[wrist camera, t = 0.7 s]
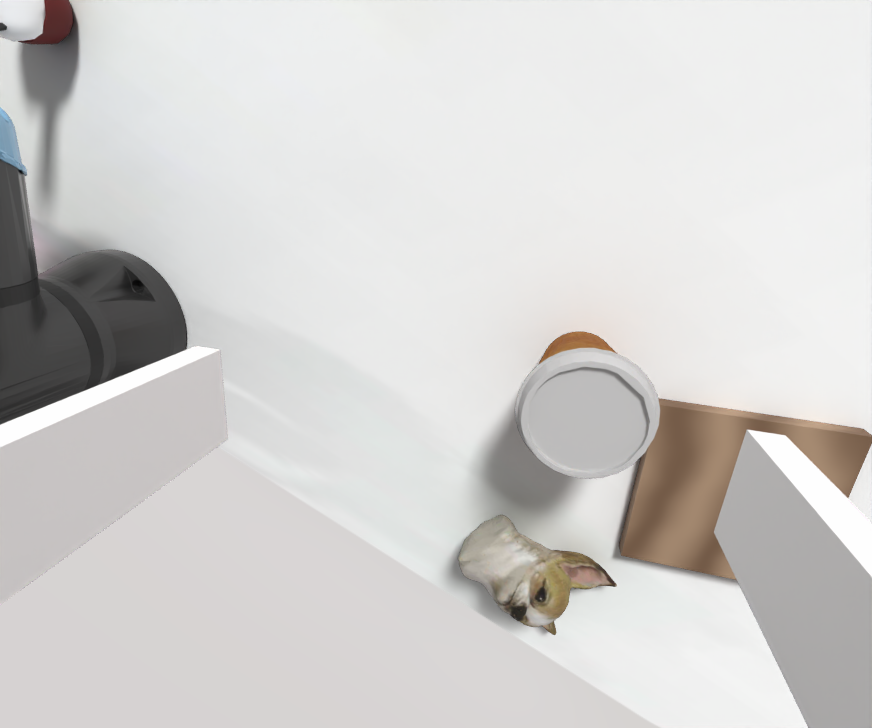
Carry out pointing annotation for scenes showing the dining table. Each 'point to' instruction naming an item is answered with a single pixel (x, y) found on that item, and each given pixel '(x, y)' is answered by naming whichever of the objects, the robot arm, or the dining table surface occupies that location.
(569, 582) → the ceramic sculpture
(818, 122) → the dining table surface
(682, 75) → the dining table surface
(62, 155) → the dining table surface
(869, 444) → the walnut board
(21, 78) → the dining table surface
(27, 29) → the cocoa
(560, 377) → the disposable coffee cup
